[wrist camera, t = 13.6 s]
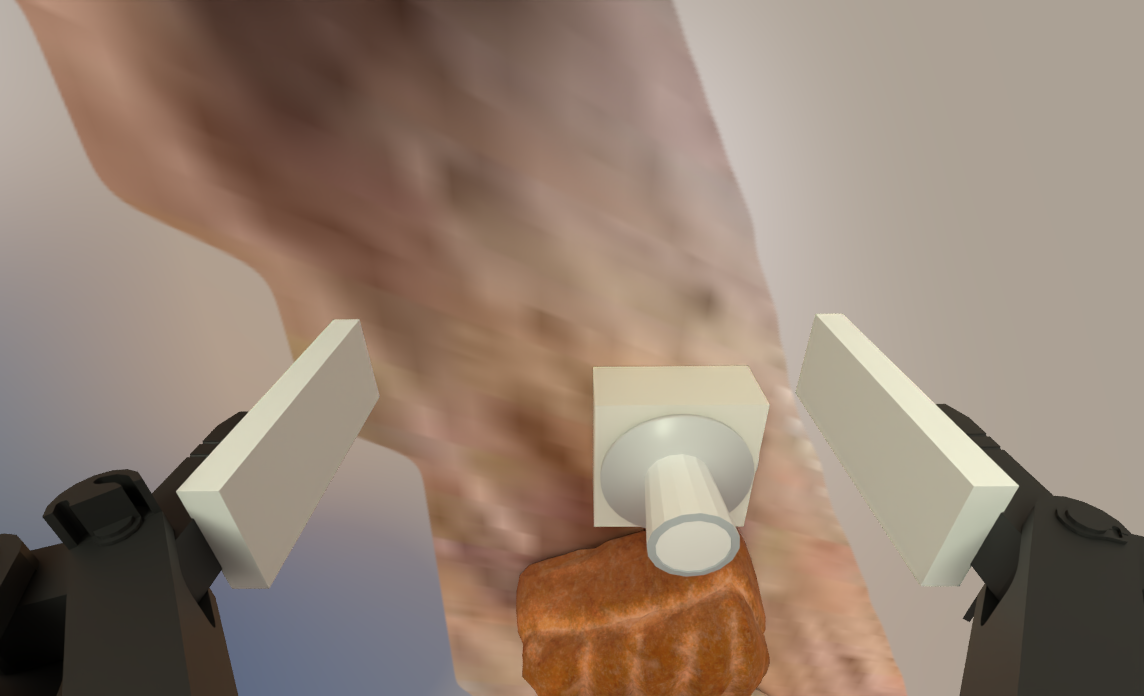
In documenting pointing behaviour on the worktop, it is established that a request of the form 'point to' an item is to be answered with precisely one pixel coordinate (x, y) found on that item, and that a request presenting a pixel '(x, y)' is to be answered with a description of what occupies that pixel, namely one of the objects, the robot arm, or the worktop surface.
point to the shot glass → (687, 518)
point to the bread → (640, 625)
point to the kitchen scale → (673, 433)
